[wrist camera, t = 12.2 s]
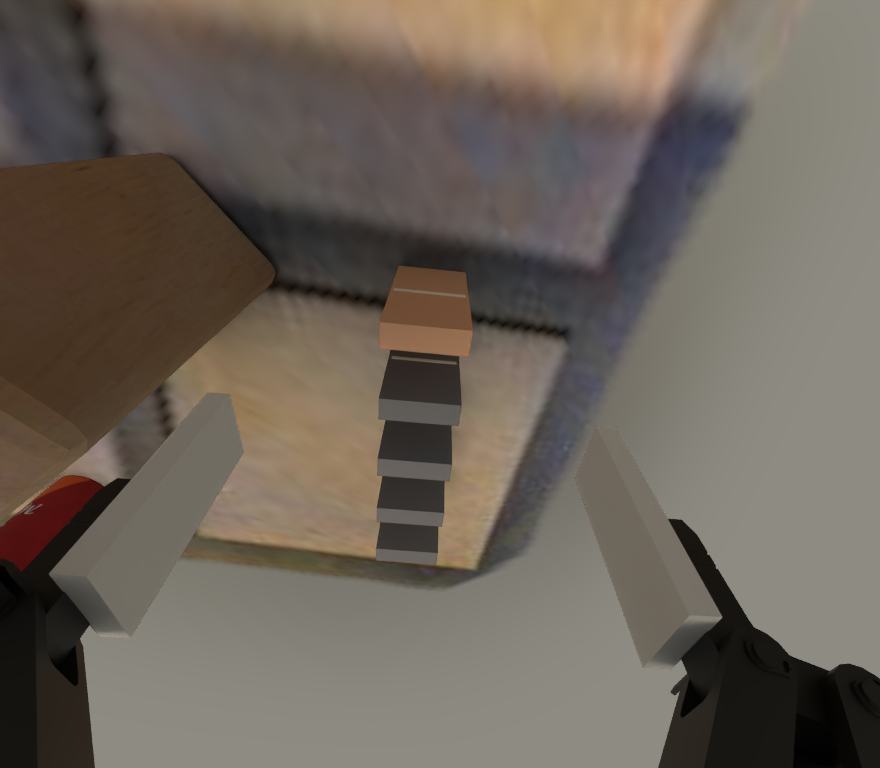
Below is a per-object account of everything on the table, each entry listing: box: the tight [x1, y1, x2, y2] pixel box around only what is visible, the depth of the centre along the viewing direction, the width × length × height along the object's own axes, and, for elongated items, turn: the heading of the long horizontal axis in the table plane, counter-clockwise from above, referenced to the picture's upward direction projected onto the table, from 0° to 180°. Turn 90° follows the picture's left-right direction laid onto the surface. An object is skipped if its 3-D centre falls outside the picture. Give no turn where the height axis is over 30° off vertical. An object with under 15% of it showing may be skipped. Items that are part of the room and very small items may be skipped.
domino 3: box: [377, 476, 444, 527], centre depth 34 cm, size 2×5×10 cm, turn 85°
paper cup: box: [0, 476, 103, 572], centre depth 38 cm, size 8×8×14 cm
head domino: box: [379, 266, 473, 357], centre depth 26 cm, size 2×5×10 cm, turn 85°
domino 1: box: [378, 350, 461, 426], centre depth 28 cm, size 2×5×10 cm, turn 85°
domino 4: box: [376, 522, 438, 564], centre depth 37 cm, size 2×5×10 cm, turn 84°
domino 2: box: [377, 420, 452, 481], centre depth 31 cm, size 2×5×10 cm, turn 84°
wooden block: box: [0, 153, 276, 521], centre depth 21 cm, size 10×10×20 cm
